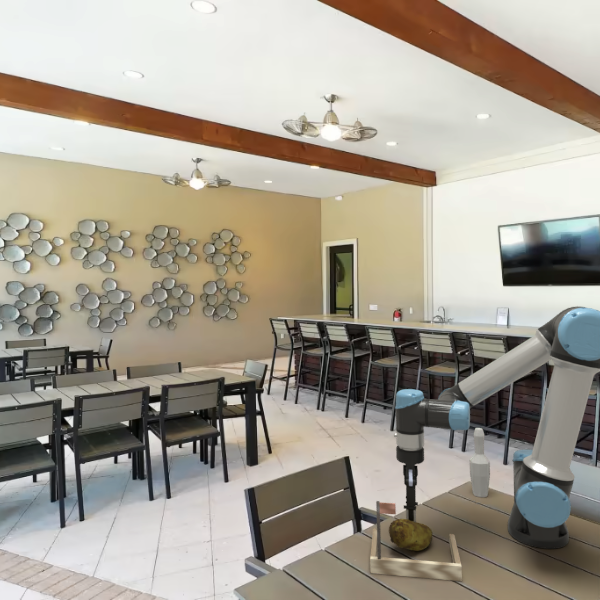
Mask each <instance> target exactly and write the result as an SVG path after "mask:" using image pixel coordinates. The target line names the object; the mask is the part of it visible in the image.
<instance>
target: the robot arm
mask: <svg viewBox="0 0 600 600" xmlns="http://www.w3.org/2000/svg"><path fill="white" fill-rule="evenodd" d="M550 361H552V362H553V364H554V365H553V370H552V373H551V377H550V381H549V386H548V389H547V393H546V397H545V400H544V401H545V402H544V403H543V404H544V405H543V409H542V411H541V412H542V413H541V416H540V420H539V424H538V428H537V432H536V437H535V441H534V443H533V448H532V449H518V450H515V451H514V452H513V457H512V459H511V460H512V461H511V462H512V465H513V506H512V508H511V511H510V514H509V517H508V521H507V531H508V533H509V535H510V536H511V537H512V538H513V539H515V540H516V541H518V542H520V543H522V544H525V545H527V546H531V547H535V548H538V549H539V548H540V549H553V550H554V549H559V548H564V547H565V546H567V545H568V543H569V541H570V539H569V537H570V536H569V530H568V526H567V524H566V522H567V520H568V519H569V517H570V515H571V511H572V507H571V506H572V504H571V499H570V496H571V493H572V490H573V484H574V481H575V478H576V477H575V474H574V473H573V472H572V471H573V470H571V464H572V460H573V455H574V453H575V448H576V446H577V440H578V438H579V433H580V429H581V426H582V421H583V418H584V414H585V411H586V407H587V403H588V399H589V396H590V392H591V388H592V383H593V380H594V377H595V375H596V374H597V373H600V310H598V309H594V308H590V307H585V306H571V307H567V308H565V309H563V310H562V311H560V312H559V313H558V314H556V315H555V316H554V317H553V318H551V319H550V320H549V321H547V322H545V324H543V325H542V326H540V327H538V328H537V329H536V330H535V334H534V335H533V336H531V337H530V338H528V339H527V340H525V341H524V342H522V343H520V344H519V345H517V346H515V347H514V348H512V349H511V350H509V351H507V352H506V353H504V354H502V355H501V356H500V357H498V358H496V359H494V360H493V361H492V362H490V363H488V364H487V365H485V366H484V367H482V368H481V369H479V370H477V371H476V372H474V373H472V374H471V375H469V376H468V377H466V378H464V379H463V380H461V381H460V382H458V383H457V384H455V385H453V386H452V387H449V388H446V389H444V390H442V391H441V393H440V394H439V395H438V398H437V399H434V398H433V399H430V398H425V396H424V393H423V391H421V390H419V389H412V388H408V389H407V388H405V389H401V390H398V391H397V392H396V394H395V407H394V409H395V430H396V431H395V432H396V433H394V434H393V437H394V438H395V439H396V440H395V441H396V443H395V444H396V448H395V450H396V456H395V457H396V460H397V461H398V463H401V464H403V465H402V474H403V480H404V481H403V482H404V483H403V484H404V485H405V487H406V488H405V493H406V494H405V499H406V501H405V504H406V505H403V509H405V519H407V520H410V521H413V522H417V506H419V502H417V501H416V489H417V488H416V486H417V485H418V475H419V470H418V465H420V464H423V462H425V448H424V447H425V430H424V428H434V429H443V430H453V431H468V430H469V428H470V425H471V422H470V421H471V415H470V414H471V410H470V409H471V408H473V407H474V406H476V405H478V404H479V403H481V402H483V401H485V400H486V399H488V398H489V397H491V396H493V395H494V394H496V393H498V392H499V391H500V390H503V389H504V388H506V387H508V386H509V385H511V384H512V383H514V382H516V381H518V380H519V379H521V378H523V377H524V376H526V375H528V374H529V373H532V371H535V370H537V369H538V368H540V367H541V366H542V365H543V366H544V365H545V364H547V363H548V362H550Z"/></svg>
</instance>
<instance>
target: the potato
mask: <svg viewBox="0 0 600 600" xmlns="http://www.w3.org/2000/svg"><path fill="white" fill-rule="evenodd" d="M388 532H389V533H388V535H389V537H390V541H391V542H392V543H394V545H396V546H397V547H398V548H400V549H401V548H402V549H406V550H410V551H412V552H415V551H416V552H419V551H423V550H425V549H426V548H428V547H429V546H430V544H431V542H432V540H433V531H432V528H431V527H429V526H428V525H426V524H424V523H421V522H417V521H416V522H413V521H410V520H407V519H406V518H398V519H395V520H393V521H392V522H390V524H389V527H388Z"/></svg>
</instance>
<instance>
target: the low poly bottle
mask: <svg viewBox="0 0 600 600" xmlns="http://www.w3.org/2000/svg"><path fill="white" fill-rule="evenodd" d="M473 441H474V454H473V455H472V456H471V458H470V459H469V476H470V483H471V489H472V495H474V496H475V497H477V498H487V497H488V495H489V488H490V486H489V485H490V478H491V477H490V476H491V462H490V460H489V458H488V457H487V456H486V454H485V433H484V430H483V428H482V427H481V428H480V427H475V429H474V432H473Z"/></svg>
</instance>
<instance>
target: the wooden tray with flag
mask: <svg viewBox="0 0 600 600" xmlns="http://www.w3.org/2000/svg"><path fill="white" fill-rule="evenodd" d="M375 503H376V504H375V506H376V508H375V509H376V528H372V537H371V546H370V548H371V549H370V558H369V560H370V561H369V562H370V563H369V566H370V568H369V569H370V574H378V575H379V574H380V575H387V576H388V575H389V576H399V577H400V576H401V577H409V578H421V579H432V580H434V579H435V580H443V581H444V580H445V581H455V582H463V570H462V569H463V568H462V563H461V558H460V554H459V550H458V546H457V545H458V544H457V541H456V536H455V534H453V533H449V550H450V555H451V560H452V562H443V561H431V560H420V559H409V558H397V557H396V558H394V557H385V556H383V557H382V543H381V515H382V514H384V515H396V513H397V510H396V505H397V504H396V502H395V503H393V502H380V500H376V502H375Z"/></svg>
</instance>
